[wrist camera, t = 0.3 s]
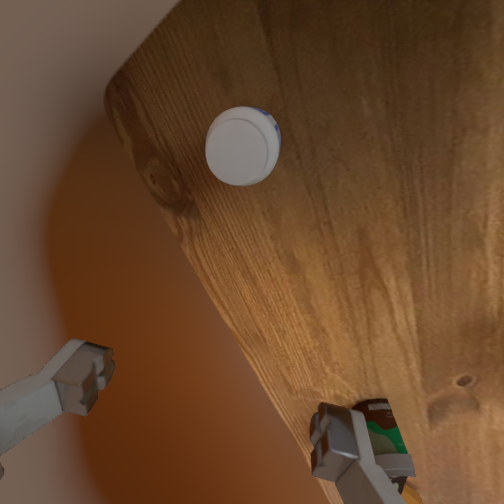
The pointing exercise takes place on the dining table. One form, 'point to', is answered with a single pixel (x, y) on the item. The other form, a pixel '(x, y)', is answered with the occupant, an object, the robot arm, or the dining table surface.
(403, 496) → the carrot
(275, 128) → the pill bottle
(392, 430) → the food container
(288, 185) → the dining table surface
